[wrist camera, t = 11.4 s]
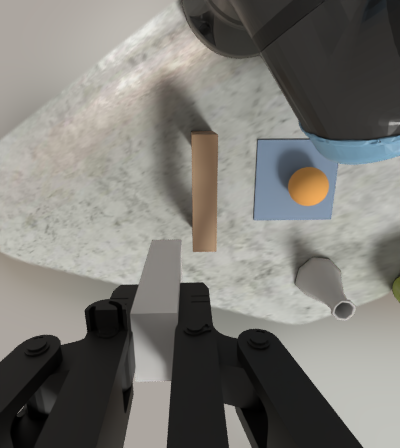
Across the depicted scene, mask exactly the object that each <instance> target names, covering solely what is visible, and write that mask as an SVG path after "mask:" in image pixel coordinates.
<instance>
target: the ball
mask: <svg viewBox="0 0 400 448" xmlns="http://www.w3.org/2000/svg"><path fill="white" fill-rule="evenodd" d="M328 190H329V182H328V179H327V177H326V175H325V174H324V173H323V172H322V171H321V170H319V169H317V168H314V167H305V168H301V169H299V170H297V171H296V172H295V173H294V174H293V175H292V176H291V178H290V180H289V183H288V191H289V194H290V196H291V198H292V199H293V200H294V201H295V202H296V203H298V204H300V205H303V206H312V205H316V204H318V203H320V202H321V201H322V200H323V199H324V198H325V197H326V195H327V193H328Z"/></svg>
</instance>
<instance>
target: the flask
mask: <svg viewBox="0 0 400 448" xmlns="http://www.w3.org/2000/svg"><path fill="white" fill-rule="evenodd" d="M295 285H296V286H297V287H298V288H299V289H300V290H301V291H302V292H303V293H304V294H305V295H307V296H309V297H311V298H314V299H316V300H318V301H320V302H322V303H324V304H326V305H327V306H328V307H330V309H331V314H332V315H333V316H334V317H336V319H337V320H345V321H346V320H348V319H349V318H350V317H352V316H353V315H354V312H355V309H356V306H355V305H354V304H353V303H352V302H351V301H350V300H347V298H346V296H345V294H344V291H343V285H342V279H341V271H340V269H339V268H338V267H337V266H336V265H335V264H334V263H333V262H332V261H331V260H330V259H324V258H315V257H312V258H311V259H310V260H309V261H308V262H306V263H305V264H304V265H303V266H302V267H300V268H299V271H298V274H297V278H296V282H295Z"/></svg>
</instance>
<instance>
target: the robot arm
mask: <svg viewBox="0 0 400 448" xmlns="http://www.w3.org/2000/svg"><path fill="white" fill-rule="evenodd" d="M182 4H183V9H184V13H185V16H186V19H187V21H188V23H189V25H190V27H191V29H192V31H193V32H194V34H195V35H196V36H197V38H198V39H199V40H200V41H201V42H202V43H203V44H204V45H205V46H206V47H208V48H209V49H210V50H212V51H214V52H215V53H217V54H220V55H222V56H225V57H229V58H236V59H243V58H250V57H254V56H257V55H261V57H262V59H263V60H264V62H265V64H266V65H267V67H268V69H269V70H270V72H271V74H272V76H273V77H274V79H275V81H276V82H277V84H278V86H279V88H280V89H281V91H282V93H283V94H284V96H285V98H286V100H287V101H288V103H289V105H290V106H291V108H292V110H293V112H294V113H295V115H296V117H297V118H298V120H299V126H300V128H301V130H302V131H303V132H304V133H305V135H307V136H308V137H309V138H310V140H311V141H312V143H313V144H314V146H315V147H316V149H317V150H318V152H319V153H320V154H321V155H322V156H324V157H325V158H326V159H328V160H330V161H332V162H336V163H340V164H350V165H355V164H366V163H373V162H378V161H382V160H387V159H390V158H394V157H397V156H400V0H182ZM85 318H86V325H87V334H86V336H85V338H84V339H82V340H80V341H76V342H72V343H68V344H64V345H61V343H60V340H59V339H58V338H57V337H55V336H53V335H40V336H36V337H33V338H30V339H28V340H26V341H24V342H23V343H22V344H20V345H18V346H17V347H16V348H15V349H14V350H13V351H12V352H11V353H10V354H9V355H8V356H6V357H5V358H4V359H3V360H2V361H1V362H0V448H123V445H124V440H125V435H126V430H127V425H128V420H129V415H130V410H131V404H132V399H133V377H134V373H135V380H136V382H150V381H171V394H170V409H169V422H168V424H169V425H168V437H167V448H229V444H228V436H227V428H226V419H225V410H224V404H228V405H232V406H235V409H236V413H237V415H238V417H239V420H240V422H241V424H242V426H243V428H244V431H245V433H246V435H247V438H248V440H249V442H250V444H251V447H252V448H363V447H362V445H361V444H360V443H359V442H358V440H357V439H356V438H355V436H354V435H353V434H352V433H351V431H350V430H349V429H348V428H347V426H346V425H345V424H344V422H343V421H342V420H341V419H340V417H339V416H338V415H337V413H336V412H335V411H334V409H333V408H332V407H331V406H330V404H329V403H328V402H327V400H326V399H325V398H324V397H323V395H322V394H321V393H320V392H319V390H318V389H317V388H316V386H315V385H314V384H313V383H312V381H311V380H310V379H309V377H308V376H307V375H306V374H305V372H304V371H303V370H302V368H301V367H300V366H299V365H298V363H297V362H296V361H295V360H294V358H293V357H292V356H291V354H290V353H289V352H288V350H287V349H286V348H285V347H284V345H283V344H282V343H281V342H280V340H279V339H278V338H277V337H276V336H275V335H274V334H272V333H270V332H268V331H266V330H261V329H249V330H246V331H243V332H242V333H241V334H240V335H239V337H238V339H237V338H232V337H228V336H225V335H223V334H221V333H219V332H218V331H217V330H216V329H215V328H214V326H213V323H212V315H211V305H210V297H209V288H208V287H207V286H206V285H205V284H204V283H203V282H201V283H182V243H181V240H152V242H151V245H150V248H149V252H148V255H147V259H146V262H145V265H144V269H143V272H142V275H141V279H140V282H139V285H120V286H119V287H118V288H116V289H115V290H114V291H113V293H112V296H111V298H110V299H105V300H100V301H97V302H94V303H93V304H91V305H89V306H88V307H87V308H86V309H85ZM23 406H24V407H23ZM22 407H23V409H22ZM21 409H22V410H21ZM20 410H21V411H20ZM19 411H20V412H19ZM18 412H19V413H18ZM17 413H18V414H17Z"/></svg>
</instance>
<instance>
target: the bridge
mask: <svg viewBox="0 0 400 448" xmlns="http://www.w3.org/2000/svg"><path fill="white" fill-rule="evenodd" d="M191 147H192V212H193V216H192V235H193V252H216V243H217V168H218V134H216V133H215V132H213V131H191Z"/></svg>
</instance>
